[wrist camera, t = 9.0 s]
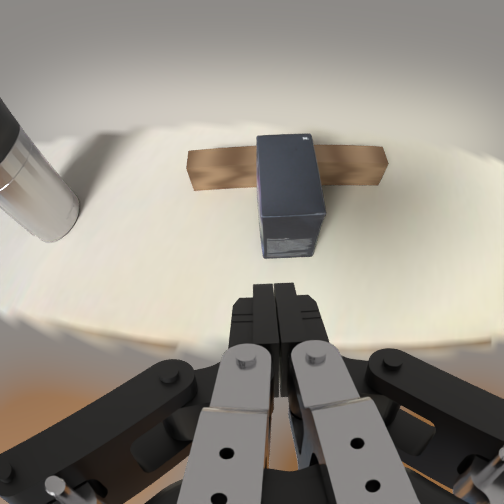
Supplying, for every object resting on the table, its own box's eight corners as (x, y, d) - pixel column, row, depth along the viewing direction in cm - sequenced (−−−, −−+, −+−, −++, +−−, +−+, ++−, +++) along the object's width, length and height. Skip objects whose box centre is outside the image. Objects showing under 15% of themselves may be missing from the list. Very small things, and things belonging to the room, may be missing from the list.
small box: (256, 187, 41) (253, 132, 32) (304, 185, 41) (313, 131, 32) (260, 260, 37) (258, 216, 28) (314, 257, 37) (329, 213, 27)
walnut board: (194, 190, 42) (186, 168, 37) (195, 173, 43) (188, 150, 38) (378, 185, 41) (388, 163, 36) (373, 168, 42) (382, 146, 37)
